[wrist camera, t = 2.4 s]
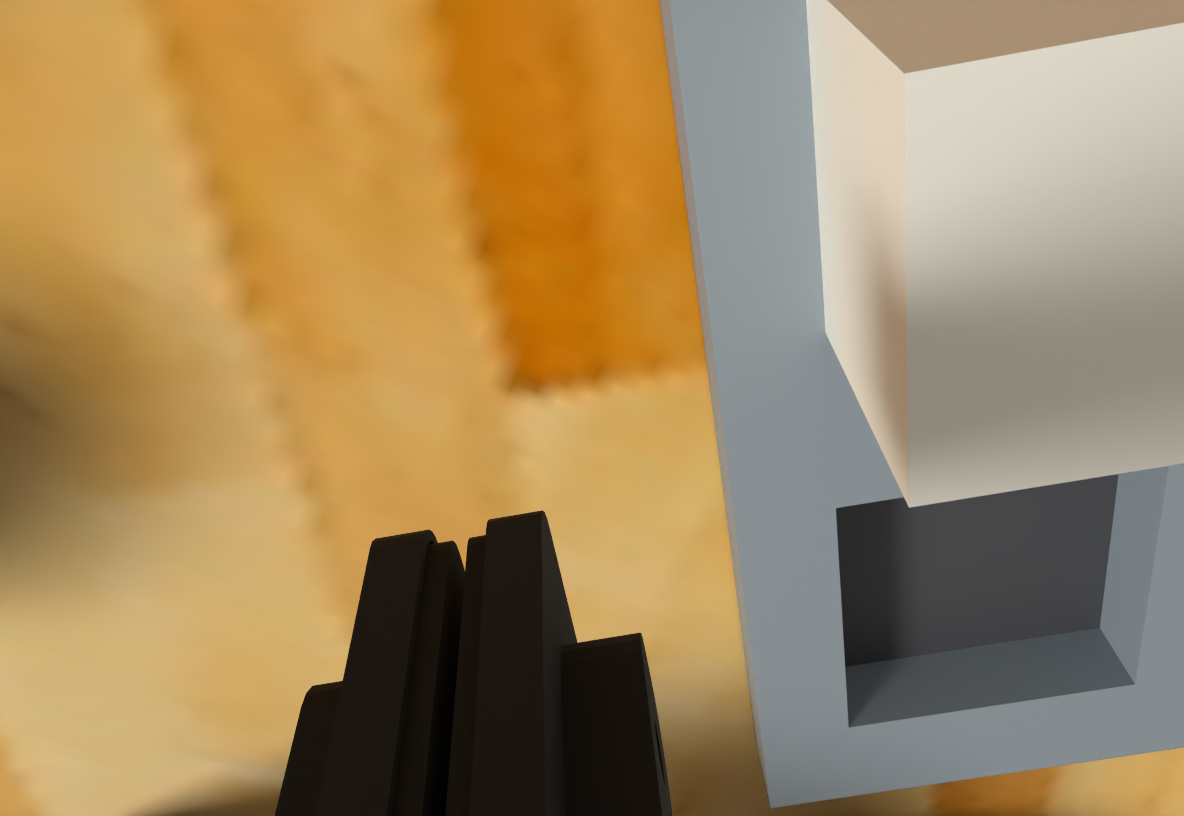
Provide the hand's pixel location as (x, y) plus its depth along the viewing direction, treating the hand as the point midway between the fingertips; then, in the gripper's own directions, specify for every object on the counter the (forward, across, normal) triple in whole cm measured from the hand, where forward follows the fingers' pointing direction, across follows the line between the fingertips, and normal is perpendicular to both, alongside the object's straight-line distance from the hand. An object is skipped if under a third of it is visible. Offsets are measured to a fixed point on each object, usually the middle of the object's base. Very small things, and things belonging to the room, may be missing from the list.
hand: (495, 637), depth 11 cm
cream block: (+8, -8, -1) cm, 12 cm away
